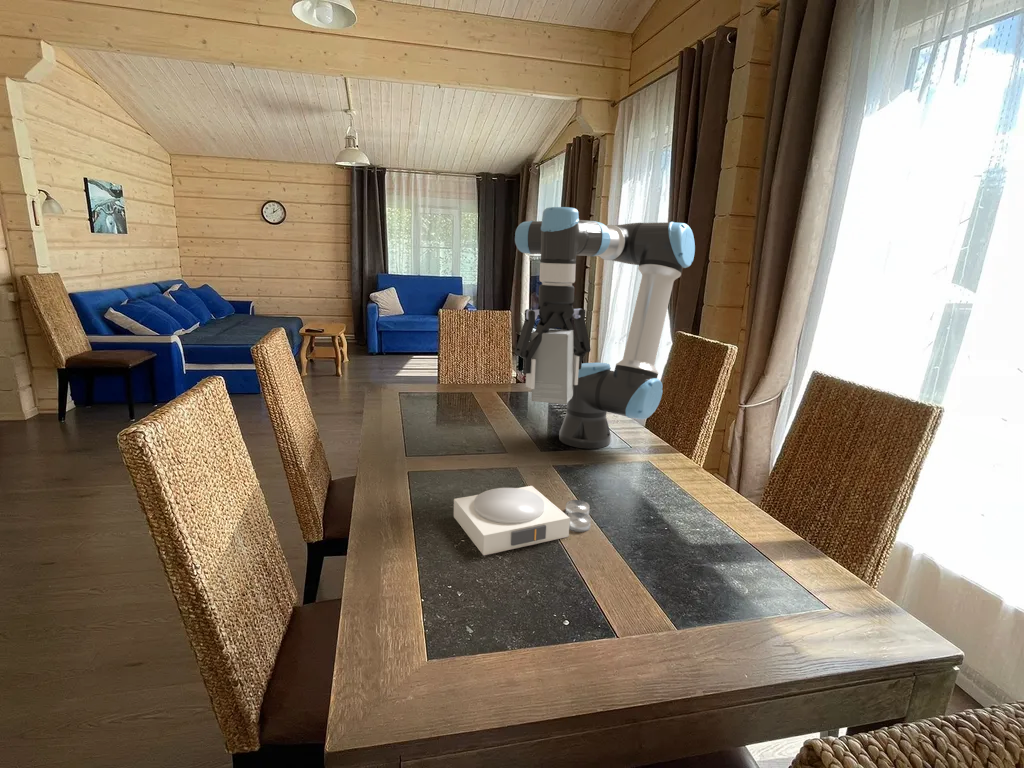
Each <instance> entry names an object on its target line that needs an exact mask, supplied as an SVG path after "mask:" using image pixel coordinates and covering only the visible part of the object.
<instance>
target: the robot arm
mask: <svg viewBox="0 0 1024 768" xmlns="http://www.w3.org/2000/svg"><path fill="white" fill-rule="evenodd" d="M579 217H580V216H579V211H578V209H577V208H575V207H568V206H551V207H546V208H545V209H544V210H543V211H542V218H541V221H540V220H530V221H523V222H521V223H519V224H518V226H517V227H516V229H515V233H514V235H515V236H514V244H515V246H516V248H517V250H518V251H519V252H521V253H522V254H529V255H540V259H539V261H540V262H539V278H538V279H539V282H541V284H539V286H538V307H537V308H536V309H525V310H524V320H523V323H522V327H521V331H520V335H519V337H518V341H517V344H516V347H515V351H514V353H515V355H516V356H517V355H518V356H520V357H522V372H523V373H525V388H528V389H530V390H532V389H534V388H535V364H536V359H534V358H532V357H533V355H534V354H535V352H536V350H537V348H538V346H539V345H540V343H541V341H542V334H543V333H546V332H548V331H549V329H564V330H573V343H574V360H573V396H572V398H571V399H570V400H569V402H568V403H567V404H566V414H565V416H564V418H563V421H562V425H561V426H560V429H559V433H558V435H559V436H558V438H559V441H560V442H561V443H562V444H564V445H567V446H570V447H574V448H580V449H590V450H591V449H593V450H594V449H601V448H604V447H607V446H609V445H610V443H611V438H612V436H611V432H610V428H609V427H610V426H609V423H608V420H607V419H608V418H607V413H610V414H614V415H618V416H619V415H620V416H622V417H626V418H629V419H636V420H645V419H648V418H650V417H651V416H652V415H653V414H654V413H655V411H656V410H657V408H658V407H659V405H660V402H661V400H662V395H663V382H662V381H661V380H660V379H659V378H658V375H659V372H658V370H657V369H656V367H655V363H656V359H657V356H658V355H657V354H658V352H659V351H658V350H659V346H660V342H661V338H662V333H663V329H664V325H665V321H666V316H667V312H668V311H667V310H668V307H669V303H670V299H671V295H672V291H673V286H674V282H675V280H677V279H678V278H681V276H682V273H683V269H686V268H689V267H690V266H691V265H692V263H693V262H694V259H695V258H694V257H695V252H696V245H695V238H694V233H693V230H692V229H691V227H690V226H689V225H688V224H687V223H685V222H675V221H670V222H632V223H624V224H615V225H614V224H607V225H606V224H604V223H603V222H601V221H600V222H599V221H596V220H586V219H585V220H584V219H580V218H579ZM577 256H584V257H585V256H587V257H599V258H601V259H602V260H603V261H612V262H617V263H623V264H627V265H628V264H629V265H633V266H637V267H638V271H639V272H640V274H641V279H640V283H639V288H638V293H637V297H636V300H635V305H634V309H633V310H634V311H633V315H632V319H631V323H630V327H629V331H628V335H627V339H626V344H625V349H624V353H623V357H622V360H620V361H619V362H617V363H616V364H615V366H614V367H615V368H614V370H611V365H610V364H609V363H607V362H584V363H582V362H583V357H585V356H586V353H590V352H591V345H590V339H589V335H588V330H587V325H586V320H585V319H586V310H585V309H583V308H579V307H577V308H574V306H573V304H574V301H575V287H574V285H573V284H574V283H575V282H576V267H577V266H576V265H577ZM572 317H573V319H574V325H575V330H576V333H575V330H574V329H573V328H574V327H573V324H572V322H571V319H572ZM537 318H539V320H538V323H537V325H536V329H535V330H533V329H534V326H535V323H536V320H537ZM533 331H535V332H537V333H538V335H537V336H536V337H535V338H534V339H533V340H532V341H531V334H532V332H533Z"/></svg>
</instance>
